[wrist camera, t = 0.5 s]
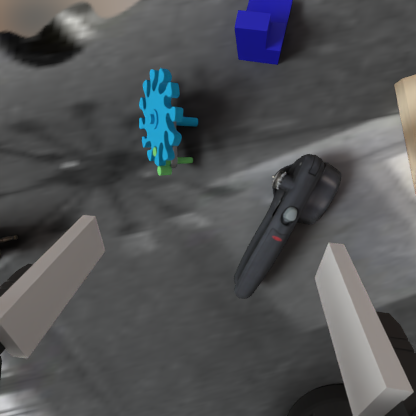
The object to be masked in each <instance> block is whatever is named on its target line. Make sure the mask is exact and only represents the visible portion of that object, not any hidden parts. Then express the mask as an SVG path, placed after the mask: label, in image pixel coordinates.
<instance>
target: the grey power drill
mask: <svg viewBox="0 0 416 416" xmlns="http://www.w3.org/2000/svg"><path fill="white" fill-rule="evenodd" d="M12 239H15V240H16V239H18V236H17V235H14V236H12V237H3V238H0V243H2V242H6V241H9V240H12ZM0 256H1V251H0Z"/></svg>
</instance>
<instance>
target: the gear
mask: <svg viewBox="0 0 416 416" xmlns="http://www.w3.org/2000/svg"><path fill="white" fill-rule="evenodd" d="M171 79H172V76H171V73H170V71H169V70H168V69H163V68H160V70H159V71H158V70H150V80H145V81H144V83H143V90H144V92H145V96H146V98H143V97H141V99H140V103H139V107H140V109H142V111H143V112H144V116H145V118H140V120H139V127H140V129H145V130H146V131H147V137H144V136H143V137H142V144H143V147H151V150H148V152H147V155H148V158H149V160H150V161H155V164H156V165H158V168H157V172H158V175H171V173H172V169H171V168H175V167H176V166H177V164H182V163H193V158H192V157H177V146H178V145H179V144H180V142H181V139H182V136H181V134H180V133H179V132H178V131H177V129H176V126H192V127H197V125H198V119H197V118H192V117H183V108H181V107H172V105H171V98H178V97H179V95H180V92H179V85H178V83H173V82H171ZM166 86H167V87H166Z"/></svg>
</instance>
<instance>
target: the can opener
mask: <svg viewBox="0 0 416 416" xmlns="http://www.w3.org/2000/svg"><path fill="white" fill-rule="evenodd" d="M272 177H273V178H274V179H273V182H272V187H273V194H274V198H273V201H272V203H271V206H270V208H269V210H268V212H267V214H266V216H265V218H264V220H263V221H262V223H261V225H260V227H259V228H258V230H257V231H256V233H255V235H254V237H253V239H252V240H251V242H250V244H249V246H248V248H247V250H246V252H245V253H244V255H243V258H242V260H241V262H240V264H239V266H238V269H237V271H236V273H235V276H234V282H235V284H236V285H235V288H234V293H235V294H236V296H237V297H239V298H242V299H245V298H248V297H250V296H251V295H252V294H253V293H254V291H255V290H256V289H257V287H258V286H259V284H260V283H261V282H262V280H263V279H264V277H265V276H266V274H267V273H268V271H269V270H270V268H271V267H272V265H273V264H274V262H275V260H276V259H277V257H278V255H279V254H280V252H281V250H282V248H283V247H284V245H285V243H286V241H287V240H288V237H289V236H290V234H291V232H292V230H293V229H294V227H295V225H296V223H297V222H301V223H305V224H313V223H315V222H316V221H317V220H318V219H319V218H320V217H321V216H322V215H323V213H324V212H325V211H326V209H327V208H328V207H329V205H330V203H331V202H332V200H333V198H334V196H335V194H336V192H337V189H338V187H339V184H340V181H341V173H340V172H339V171H338V170H337V169H335V168H334V167H333V166H331V165H330V164H328V163H323V161H322V159H320V158H319V157H318V156H316V155H310V154H307V155H304V156H302V157H301V158H299V159H298V160H296V162H295V163H294V164H292V165H289V166H286V167H284V168H282V169H281V170H279V171H278V172H277V173H276V175H275V176H272Z"/></svg>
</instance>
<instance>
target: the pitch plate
mask: <svg viewBox="0 0 416 416" xmlns="http://www.w3.org/2000/svg"><path fill="white" fill-rule="evenodd" d="M394 86H395V91H396V96H397V101H398V106H399V111H400V117H401V122H402V127H403V132H404V137H405V142H406V148H407V153H408V158H409V163H410V168H411V173H412V179H413V184H414V189H415V194H416V75H413V76H410V77H406V78H403V79H401V80H400V81H399V82H397V83H396V84H394Z"/></svg>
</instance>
